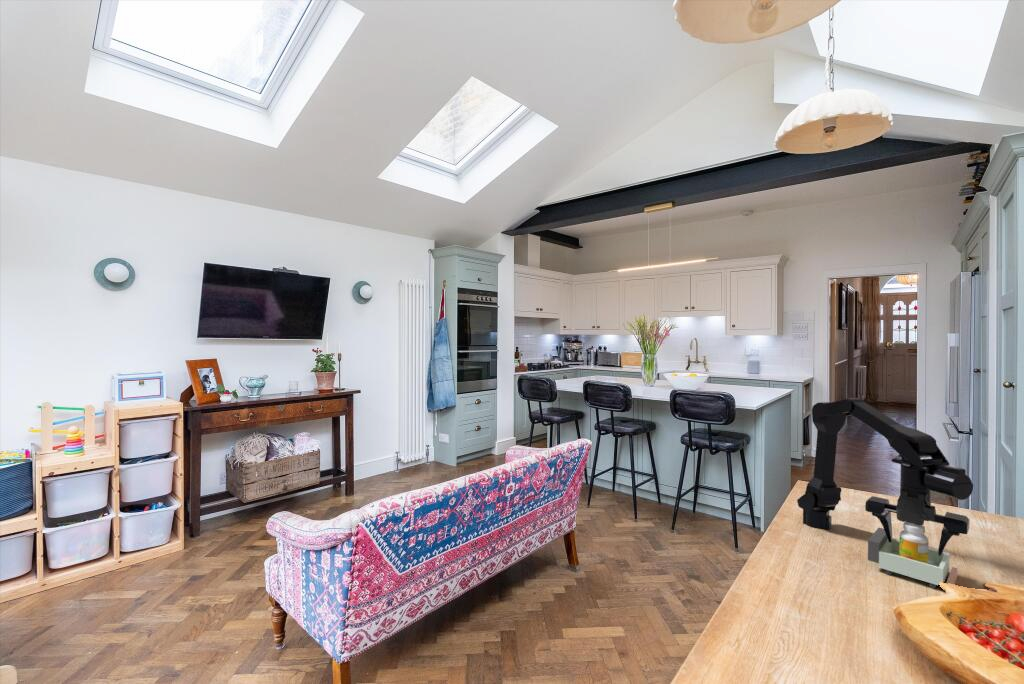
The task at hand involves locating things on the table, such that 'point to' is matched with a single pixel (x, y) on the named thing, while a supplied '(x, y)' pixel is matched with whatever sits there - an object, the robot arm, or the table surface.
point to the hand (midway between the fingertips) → (914, 548)
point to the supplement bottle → (914, 542)
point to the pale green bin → (907, 560)
